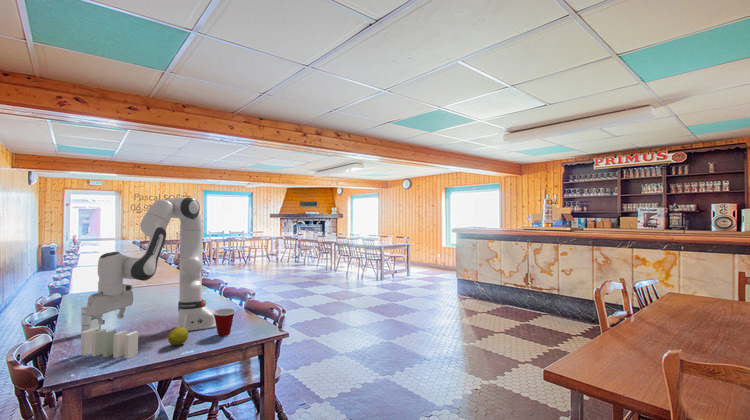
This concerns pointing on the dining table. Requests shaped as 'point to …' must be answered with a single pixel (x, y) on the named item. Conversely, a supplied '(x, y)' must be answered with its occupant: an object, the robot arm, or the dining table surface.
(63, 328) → the dining table surface
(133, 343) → the domino
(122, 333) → the domino
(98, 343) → the domino
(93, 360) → the dining table surface
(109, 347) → the domino
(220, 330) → the plastic cup
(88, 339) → the domino
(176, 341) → the lemon
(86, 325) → the syrup box
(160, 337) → the dining table surface
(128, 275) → the robot arm
